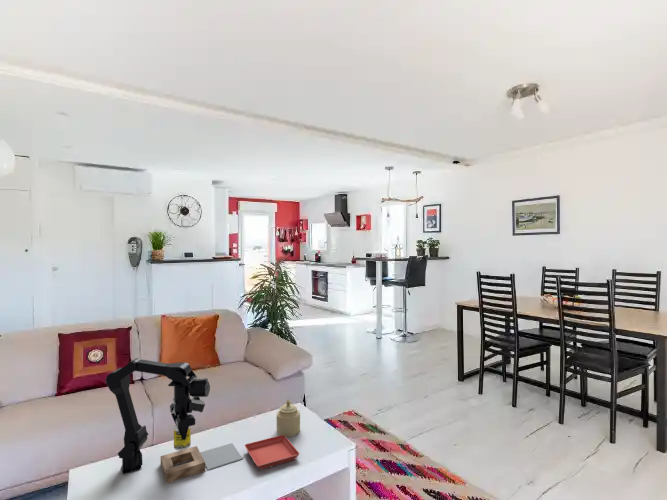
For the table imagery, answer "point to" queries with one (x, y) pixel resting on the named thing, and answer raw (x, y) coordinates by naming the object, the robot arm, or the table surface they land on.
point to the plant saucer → (272, 451)
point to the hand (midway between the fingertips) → (182, 435)
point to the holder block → (186, 469)
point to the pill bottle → (178, 441)
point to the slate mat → (220, 456)
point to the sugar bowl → (288, 420)
